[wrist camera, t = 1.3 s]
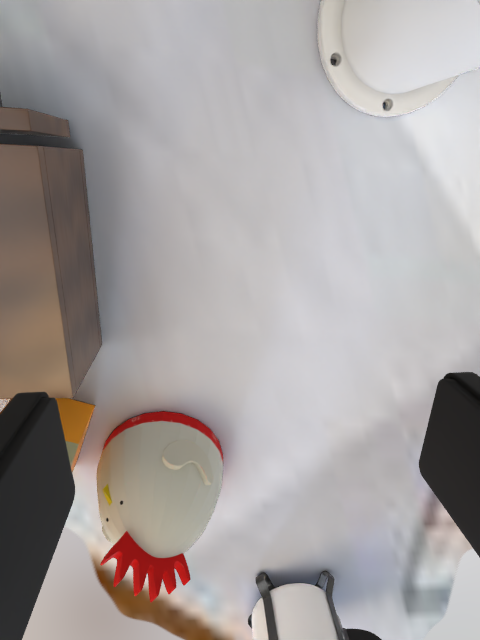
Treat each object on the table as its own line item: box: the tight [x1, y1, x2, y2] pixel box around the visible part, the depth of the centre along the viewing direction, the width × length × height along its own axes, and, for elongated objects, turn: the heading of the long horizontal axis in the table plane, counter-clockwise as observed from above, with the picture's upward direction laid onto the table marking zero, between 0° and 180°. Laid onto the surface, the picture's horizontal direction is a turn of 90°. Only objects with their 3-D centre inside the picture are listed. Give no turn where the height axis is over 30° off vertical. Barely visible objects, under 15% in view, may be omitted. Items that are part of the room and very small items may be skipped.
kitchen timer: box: [97, 411, 223, 602], centre depth 37 cm, size 14×14×15 cm
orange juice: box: [0, 398, 95, 472], centre depth 32 cm, size 8×9×20 cm
